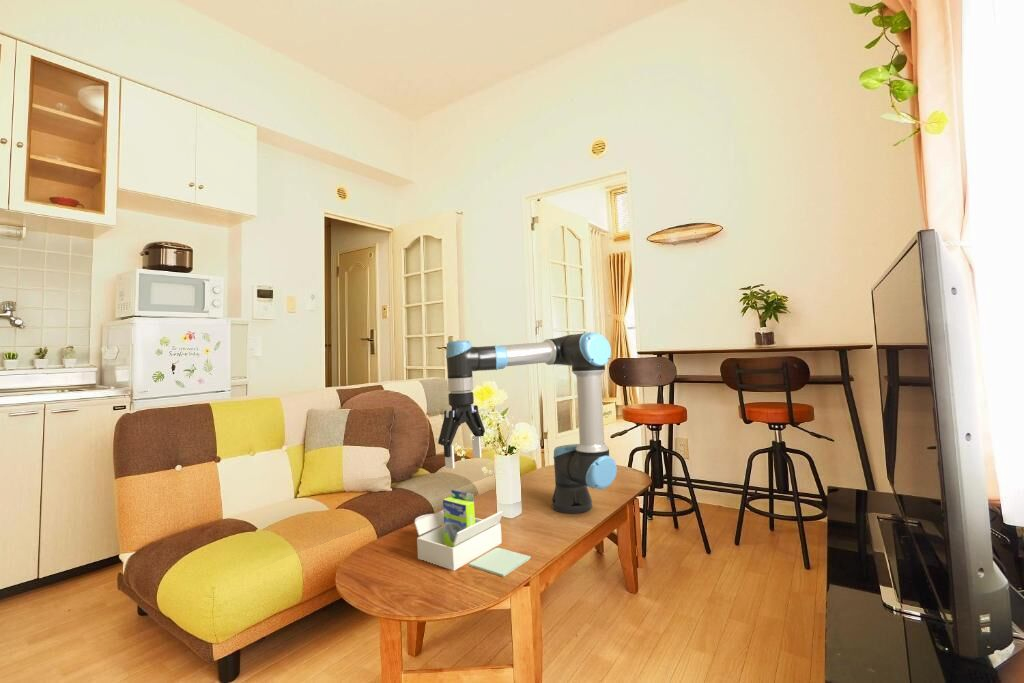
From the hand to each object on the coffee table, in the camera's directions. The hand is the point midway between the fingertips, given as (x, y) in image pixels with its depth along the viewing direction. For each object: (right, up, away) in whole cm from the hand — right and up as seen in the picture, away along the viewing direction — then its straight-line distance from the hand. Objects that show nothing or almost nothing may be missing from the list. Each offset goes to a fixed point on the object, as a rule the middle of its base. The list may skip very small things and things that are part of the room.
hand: (464, 462), depth 139 cm
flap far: (-7, -21, +6) cm, 23 cm away
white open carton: (-1, -27, +1) cm, 27 cm away
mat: (+11, -26, -8) cm, 30 cm away
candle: (-13, -28, +13) cm, 33 cm away
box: (-1, -27, +1) cm, 27 cm away
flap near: (+4, -20, -3) cm, 21 cm away
